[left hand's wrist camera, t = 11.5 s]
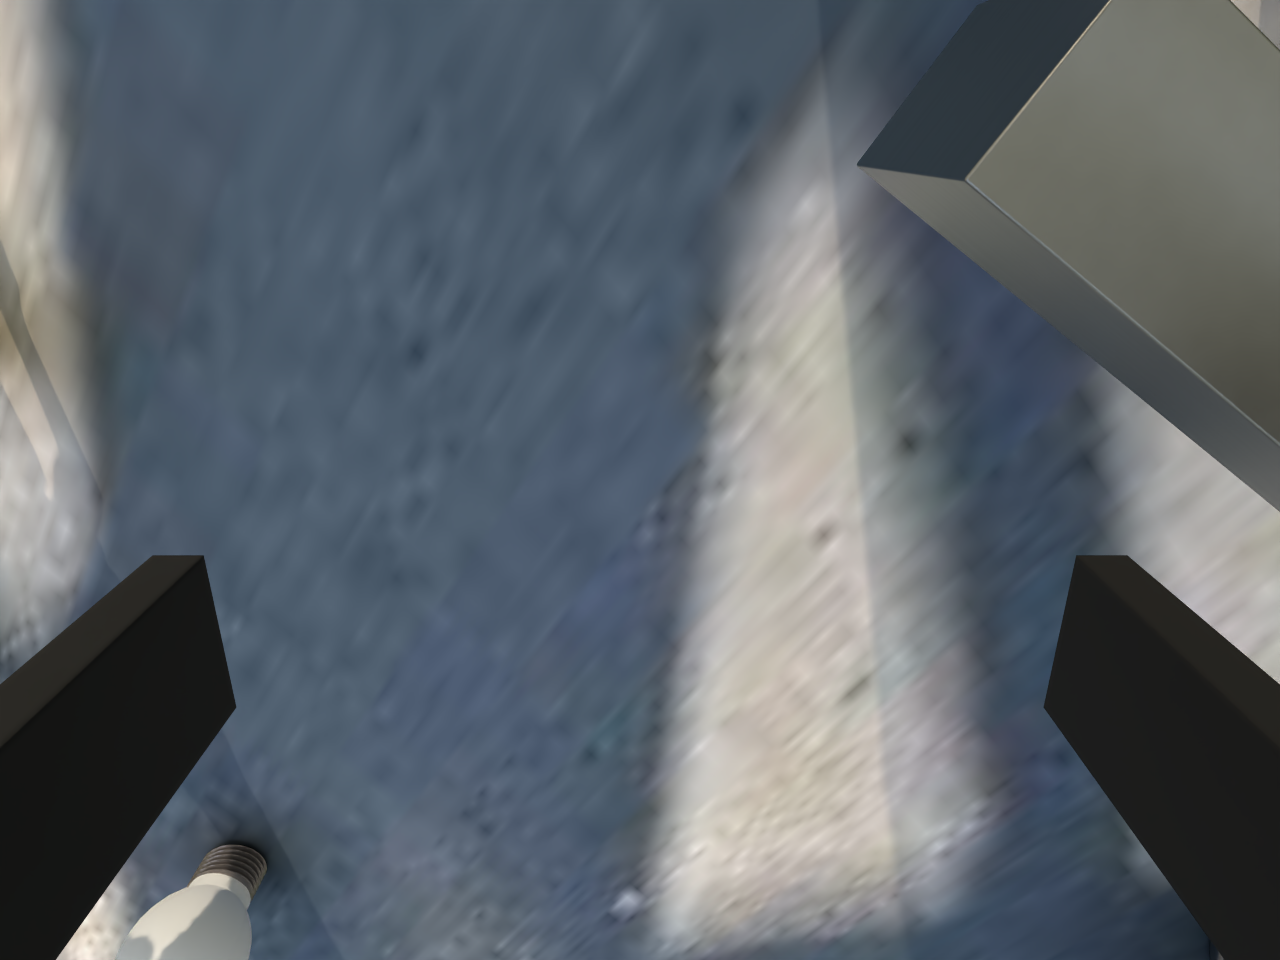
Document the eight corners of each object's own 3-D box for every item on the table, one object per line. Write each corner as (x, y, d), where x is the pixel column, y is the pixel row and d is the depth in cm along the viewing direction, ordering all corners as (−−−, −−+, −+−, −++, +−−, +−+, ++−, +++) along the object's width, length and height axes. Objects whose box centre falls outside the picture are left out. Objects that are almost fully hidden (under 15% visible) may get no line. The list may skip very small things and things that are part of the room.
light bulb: (252, 813, 52) (158, 975, 42) (308, 888, 55) (232, 1059, 44) (160, 845, 53) (46, 1011, 43) (219, 917, 56) (125, 1092, 45)
